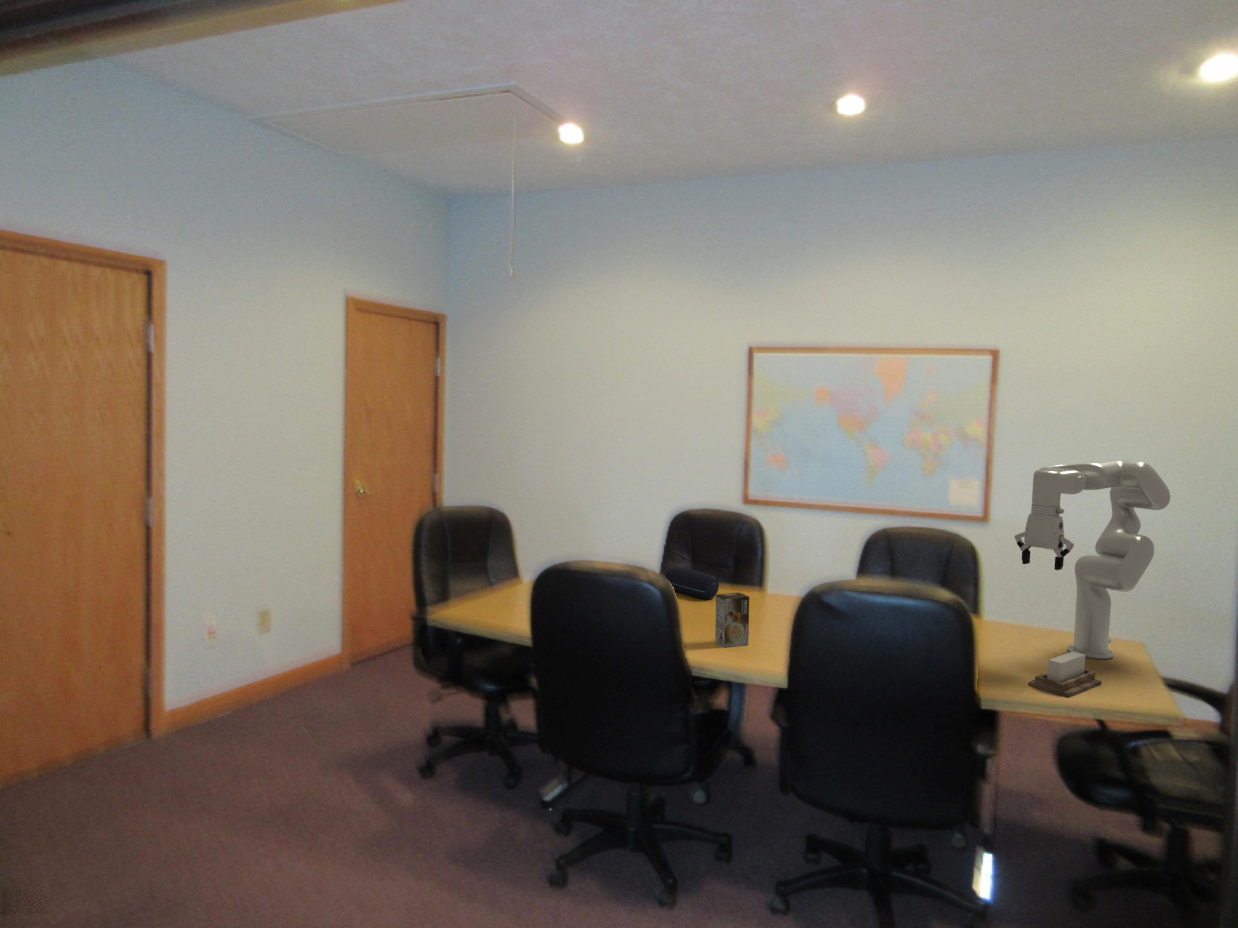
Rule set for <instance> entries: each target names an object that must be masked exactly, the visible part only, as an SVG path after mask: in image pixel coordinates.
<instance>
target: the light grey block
mask: <svg viewBox="0 0 1238 928" xmlns="http://www.w3.org/2000/svg"><path fill="white" fill-rule="evenodd" d="M1047 662H1048V663H1047V672H1048V674H1047V679H1049V680H1052V681H1056V682H1059V683H1062V682H1065V681H1067V680H1070V679H1073V678H1075V677H1078V676H1080V675H1083V674H1084V670H1085V669H1086V668H1085V667H1086V657H1085V654H1081V653H1077V652H1070V651H1069V652H1067V653H1064V654H1061V655H1059V656H1055V657H1052V658H1050V659H1048V660H1047Z"/></svg>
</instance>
